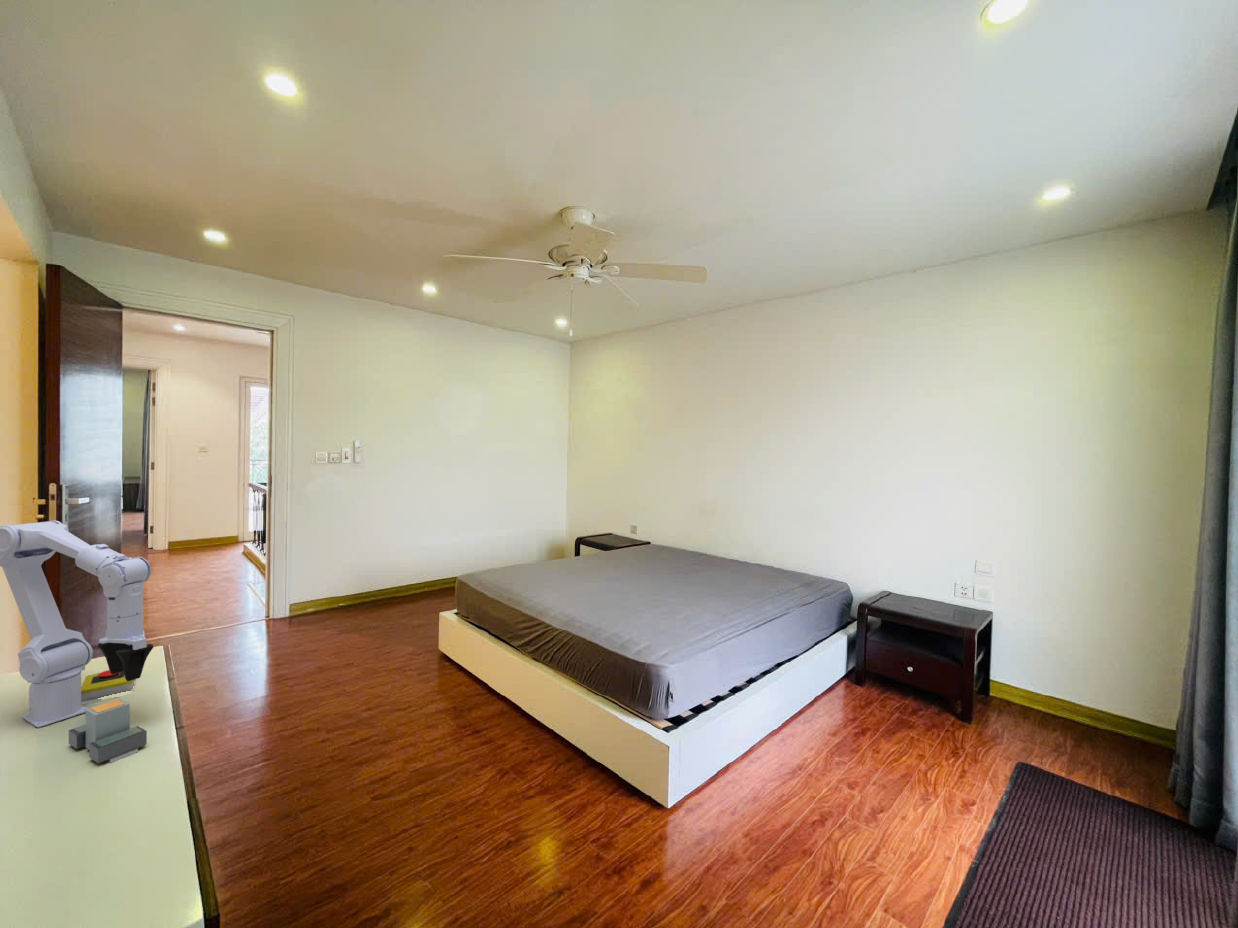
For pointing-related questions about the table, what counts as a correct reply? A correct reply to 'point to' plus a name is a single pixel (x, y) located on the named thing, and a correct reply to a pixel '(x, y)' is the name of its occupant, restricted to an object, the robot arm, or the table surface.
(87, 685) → the emergency button
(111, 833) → the table surface
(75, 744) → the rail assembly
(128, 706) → the block
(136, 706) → the table surface
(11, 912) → the table surface
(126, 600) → the robot arm
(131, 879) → the table surface
